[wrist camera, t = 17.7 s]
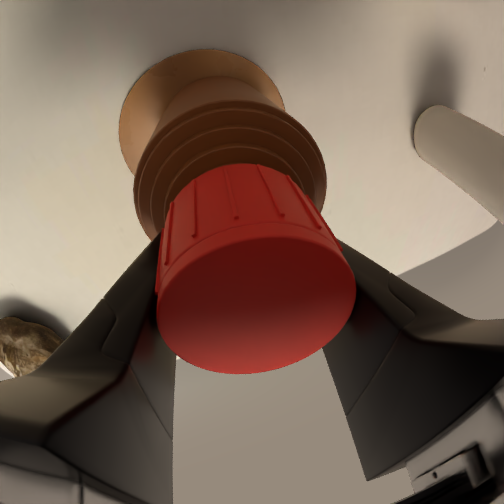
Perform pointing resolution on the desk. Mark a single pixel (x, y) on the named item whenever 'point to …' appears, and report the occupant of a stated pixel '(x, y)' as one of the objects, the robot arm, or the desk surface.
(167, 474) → the robot arm
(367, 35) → the desk surface
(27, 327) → the fossilized seashell
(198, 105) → the bottle
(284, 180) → the cap
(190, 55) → the coaster
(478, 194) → the beverage can
